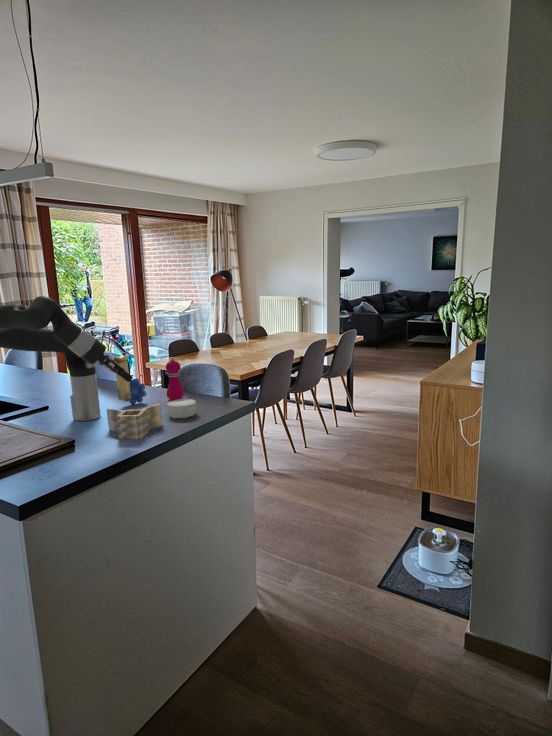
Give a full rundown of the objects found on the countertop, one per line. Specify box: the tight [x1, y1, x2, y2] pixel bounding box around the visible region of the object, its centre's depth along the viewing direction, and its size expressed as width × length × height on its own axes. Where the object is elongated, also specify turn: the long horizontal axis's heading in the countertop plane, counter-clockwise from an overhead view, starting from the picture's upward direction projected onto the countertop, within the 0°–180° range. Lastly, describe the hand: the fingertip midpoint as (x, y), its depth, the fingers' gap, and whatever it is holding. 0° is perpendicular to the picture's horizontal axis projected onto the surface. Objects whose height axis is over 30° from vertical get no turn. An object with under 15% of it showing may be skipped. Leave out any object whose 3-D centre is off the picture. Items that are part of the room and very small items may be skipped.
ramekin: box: [166, 398, 197, 419], centre depth 184 cm, size 11×11×5 cm
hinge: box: [106, 403, 164, 440], centre depth 166 cm, size 18×15×8 cm
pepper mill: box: [165, 356, 185, 403], centre depth 200 cm, size 7×7×20 cm
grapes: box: [122, 377, 147, 405], centre depth 202 cm, size 12×7×12 cm, turn 122°
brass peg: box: [113, 355, 131, 401], centre depth 158 cm, size 4×4×14 cm
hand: (128, 378), depth 159 cm, fingers closed on brass peg, 4 cm apart
